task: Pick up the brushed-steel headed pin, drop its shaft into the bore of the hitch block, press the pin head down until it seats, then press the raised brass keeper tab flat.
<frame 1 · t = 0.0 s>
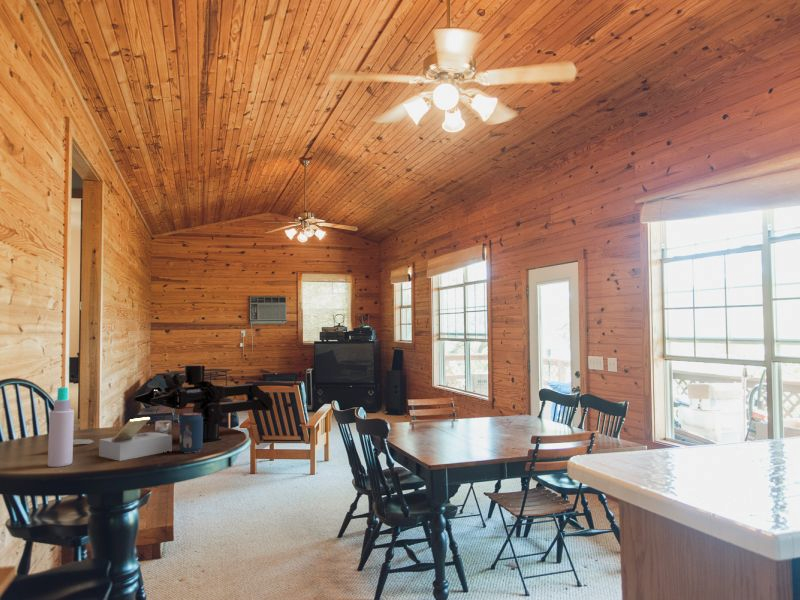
hand: (142, 399, 176), 17 cm above the table, tool horizontal, fingers open, 9 cm apart
brass keeper: (131, 428, 166), point 9 cm above the table, hinge at 35.0°
soda can: (191, 451, 177), on the table
spray bottle: (60, 465, 158), on the table
caliper: (72, 449, 183), on the table
steel pin: (162, 444, 188), on the table
hitch block: (136, 453, 174), on the table
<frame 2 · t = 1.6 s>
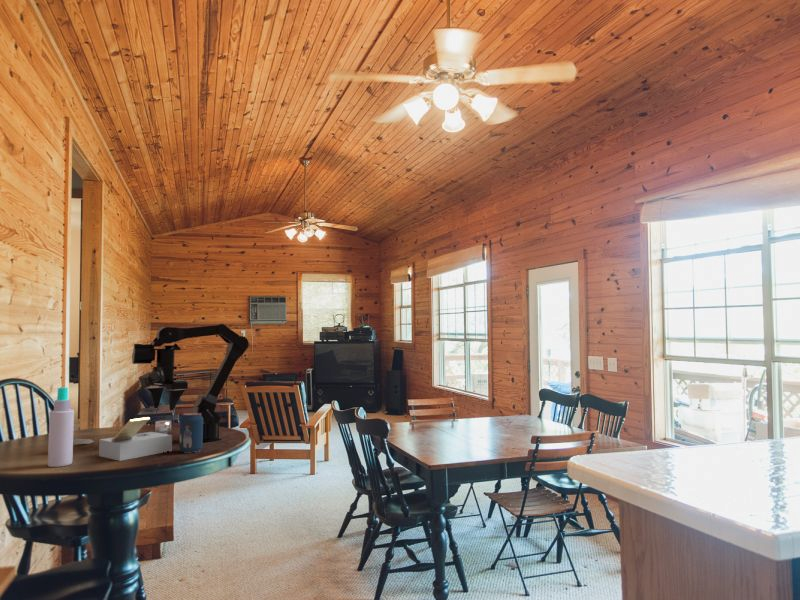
hand: (163, 409, 189), 12 cm above the table, tool pointing down, fingers open, 9 cm apart
nothing on the table moved.
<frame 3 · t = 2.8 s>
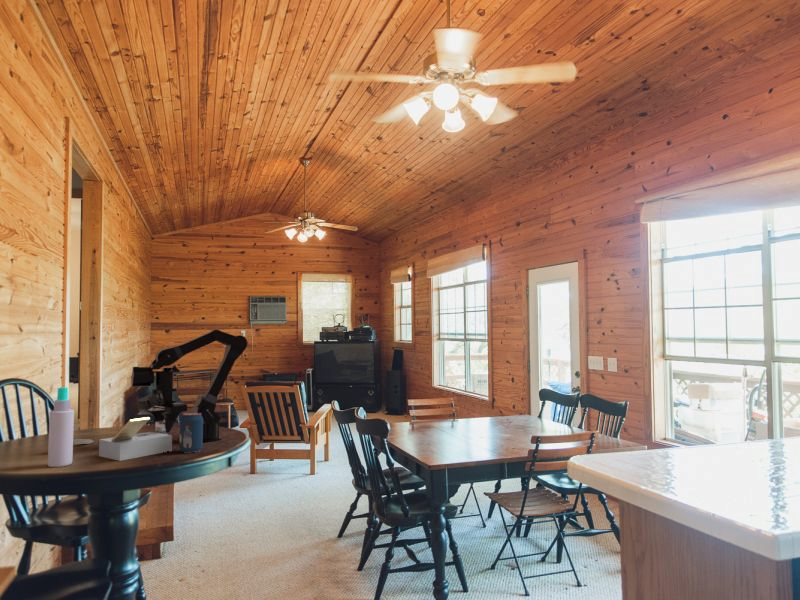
hand: (163, 431, 188), 4 cm above the table, tool pointing down, fingers closed on steel pin, 5 cm apart
steel pin: (162, 444, 188), on the table, touching gripper
everything else where it was.
when the fingers open (7 cm above the table, at t = 6.4 s): steel pin drops 2 cm, resting on hitch block.
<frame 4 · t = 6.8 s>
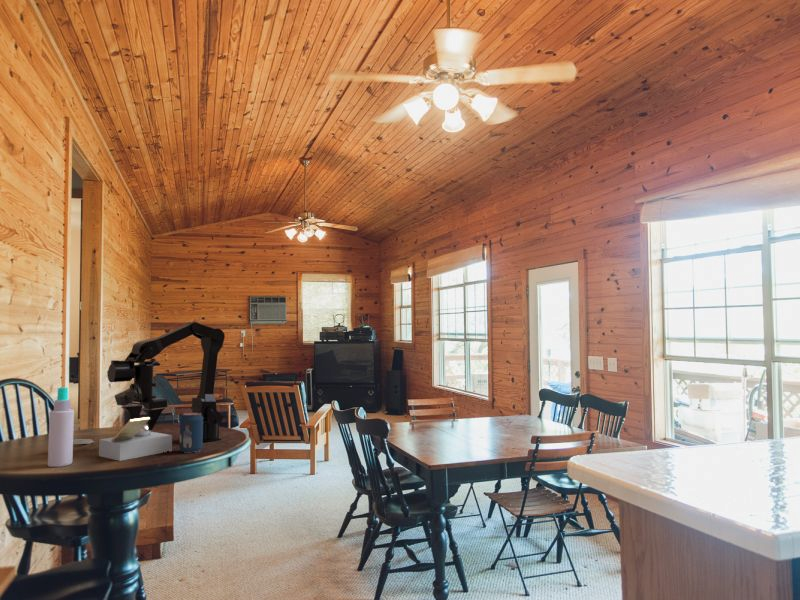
hand: (142, 429, 178), 7 cm above the table, tool pointing down, fingers open, 9 cm apart
steel pin: (141, 450, 177), resting on hitch block
everything else where it was.
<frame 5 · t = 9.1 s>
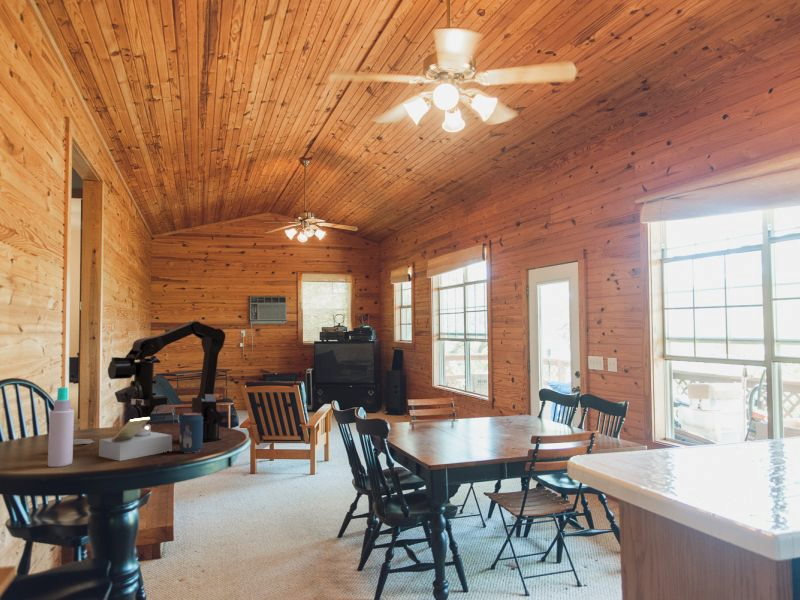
hand: (142, 426, 178), 8 cm above the table, tool pointing down, fingers closed, pressing on steel pin
steel pin: (141, 450, 177), resting on hitch block, touching gripper
everything else where it was.
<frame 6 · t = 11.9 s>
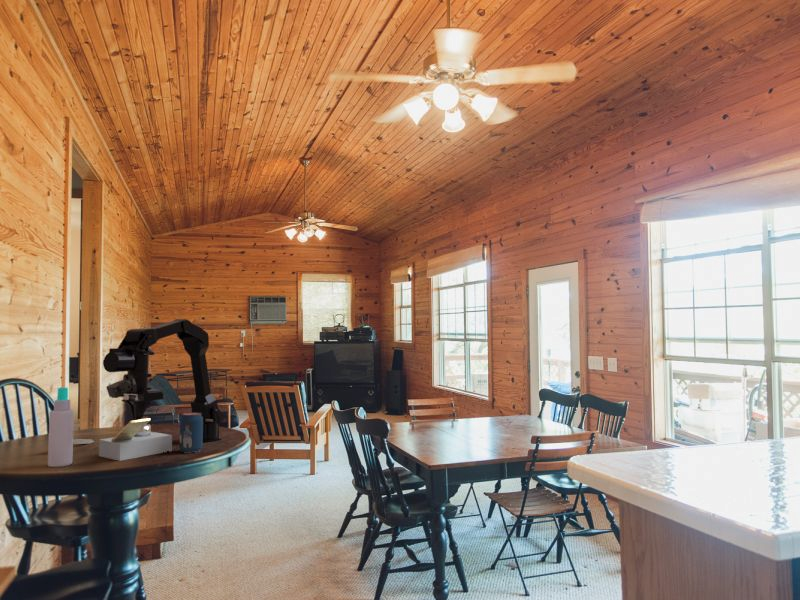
hand: (136, 423, 165), 11 cm above the table, tool pointing down, fingers closed
brass keeper: (131, 429, 166), point 9 cm above the table, hinge at 32.8°, touching gripper
steel pin: (141, 450, 177), resting on hitch block
everything else where it was.
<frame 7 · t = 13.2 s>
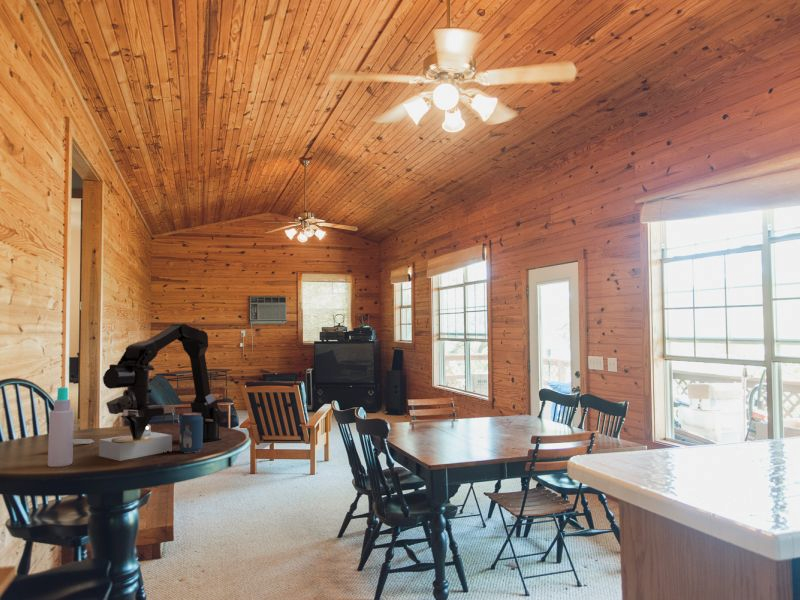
hand: (136, 439, 164), 6 cm above the table, tool pointing down, fingers closed, pressing on brass keeper
brass keeper: (133, 439, 165), point 6 cm above the table, hinge at 3.6°, touching gripper
everything else where it was.
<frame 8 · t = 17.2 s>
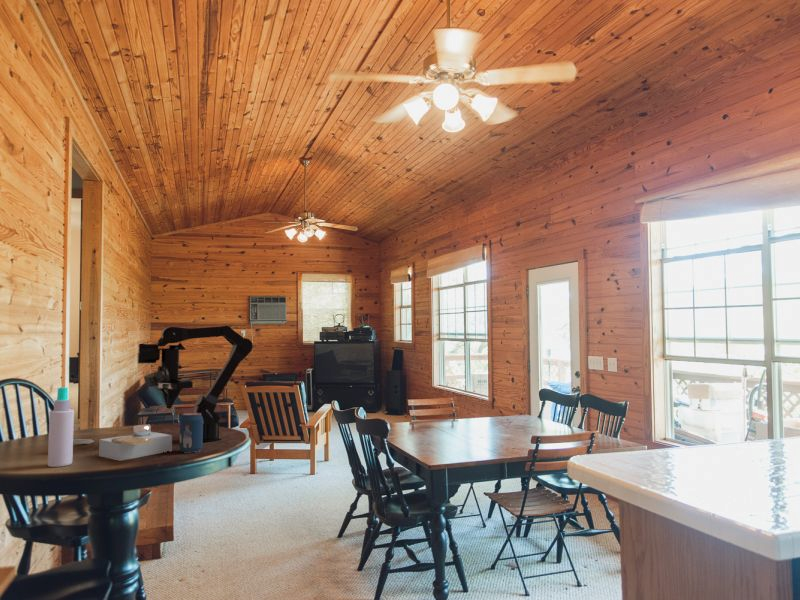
hand: (169, 408, 190), 12 cm above the table, tool pointing down, fingers closed
brass keeper: (133, 440, 165), point 6 cm above the table, hinge at 1.3°
everything else where it was.
at the end: steel pin 0.0 cm from the target spot on the hitch block, point 0.2 cm above the hitch block's base; steel pin tilted 0°; brass keeper at +1° (first picture: +35°) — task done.
